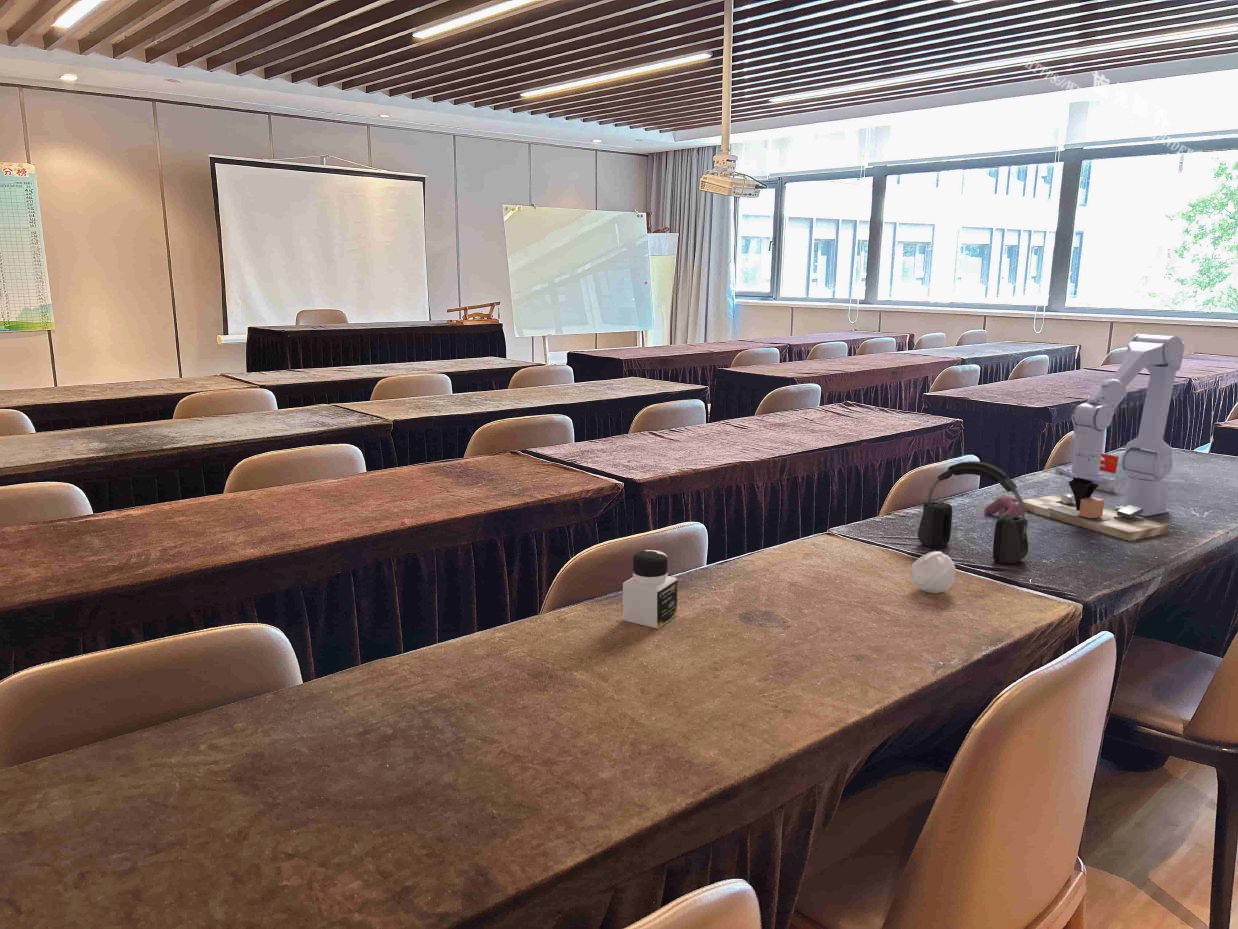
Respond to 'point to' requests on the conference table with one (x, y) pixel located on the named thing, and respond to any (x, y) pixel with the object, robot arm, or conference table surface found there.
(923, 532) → the headphones
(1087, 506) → the slide paddle
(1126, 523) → the control panel
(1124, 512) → the rocker switch
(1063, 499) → the push button
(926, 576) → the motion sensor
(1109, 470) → the ink cartridge box
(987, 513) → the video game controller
